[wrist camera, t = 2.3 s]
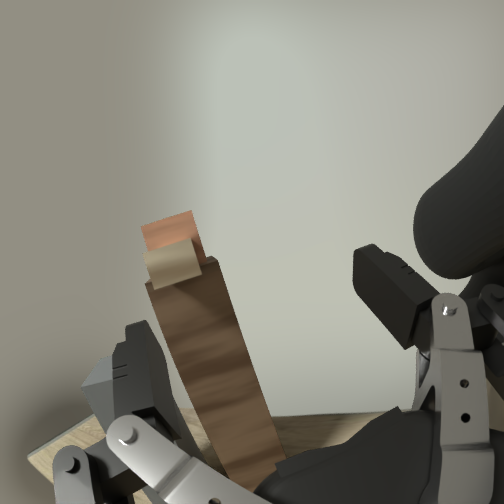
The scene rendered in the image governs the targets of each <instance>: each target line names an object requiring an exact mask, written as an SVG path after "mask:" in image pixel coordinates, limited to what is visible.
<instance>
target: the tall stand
mask: <svg viewBox="0 0 504 504" xmlns="http://www.w3.org/2000/svg"><path fill="white" fill-rule="evenodd" d="M206 259H207V262H204V263H201V264H199V267H200V270H201V273H202V275H199V276H195V277H192V278H189V279H186V280H183V281H180V282H177V283H174V284H171V285H168V286H165V287H161V288H158V289H155V290H154V287H153V284H152V281H151V279H150V280H149V281H147V282H146V283H145V286H146V289H147V291H148V294H149V297H150V300H151V303H152V306H153V308H154V311H155V314H156V317H157V319H158V322H159V325H160V327H161V330H162V333H163V335H164V338H165V340H166V343H167V346H168V348H169V351H170V353H171V356H172V358H173V360H174V363H175V365H176V368H177V370H178V372H179V375H180V377H181V380H182V382H183V384H184V386H185V389H186V391H187V393H188V395H189V398H190V400H191V402H192V404H193V407H194V409H195V411H196V413H197V415H198V417H199V419H200V422H201V424H202V426H203V428H204V430H205V432H206V434H207V436H208V438H209V440H210V442H211V444H212V446H213V448H214V450H215V452H216V454H217V456H218V458H219V460H220V462H221V464H222V466H223V467H224V469H225V471H226V473H227V475H228V477H229V479H230V480H231V481H233V482H235V483H236V484H238V485H240V486H241V487H243V488H245V489H246V490H248V491H250V492H252V493H253V491H254V490H255V489H256V487H257V486H258V485H259V484H260V483H261V482H262V481H263V480H264V479H265V478H266V477H267V476H269V475H270V474H271V473H273V472H274V471H276V470H277V469H276V467H275V464H274V463H277V462H279V461H282V460H285V459H287V458H286V456H285V453H284V451H283V448H282V445H281V443H280V440H279V437H278V434H277V432H276V429H275V426H274V424H273V421H272V418H271V415H270V413H269V410H268V407H267V404H266V402H265V399H264V396H263V393H262V391H261V388H260V385H259V382H258V379H257V376H256V373H255V371H254V368H253V365H252V362H251V359H250V356H249V353H248V350H247V347H246V345H245V342H244V339H243V336H242V333H241V330H240V327H239V324H238V321H237V318H236V315H235V312H234V309H233V306H232V303H231V300H230V297H229V294H228V290H227V287H226V284H225V281H224V278H223V275H222V272H221V269H220V266H219V262H218V260H217V259H215V258H214V257H213V256H209V257H206Z"/></svg>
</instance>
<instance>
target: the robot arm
mask: <svg viewBox="0 0 504 504" xmlns="http://www.w3.org/2000/svg"><path fill="white" fill-rule="evenodd" d="M413 233H414V241H415V245H416V248H417V251H418V253H419V255H420V257H421V259H422V260H423V262H424V263H425V265H426V266H427V267H428V268H429V269H430V270H431V271H433V272H434V273H435V274H437V275H439V276H441V277H443V278H447V279H461V278H466V277H469V276H471V275H472V277H471V279H470V281H469V283H468V284H467V286H466V287H465V288H464V290H463V291H462V292H461V293H460V294H459V295H458V296H457V295H455V294H451V293H442V294H440V293H439V292H438V291H437V290H436V289H435V288H434V287H433V286H431V285H430V284H429V283H428V282H427V281H426V280H425V279H424V278H423V277H422V276H420V275H419V274H418V273H417V272H415V270H413V269H412V268H411V267H410V266H408V264H407V263H406V262H404V261H403V260H402V259H401V258H400V257H398V256H396V255H394V254H391V253H389V252H385V253H384V252H383V251H382V250H381V249H379V248H378V247H377V246H376V245H375V244H369V245H367V246H364V247H361V248H358V249H356V250H355V251H354V255H353V286H354V289H355V291H356V293H357V295H358V296H359V297H360V298H361V299H362V300H363V302H364V303H365V304H366V305H367V306H368V307H369V308H370V310H371V311H372V312H373V313H374V314H375V315H376V317H377V318H378V319H379V320H380V321H381V322H382V324H383V325H384V326H385V327H386V328H387V329H388V331H389V332H390V333H391V334H392V335H393V336H394V338H395V339H396V340H397V341H398V342H399V344H400V345H401V346H402V347H403V348H404V350H406V349H408V348H410V347H411V346H413V345H415V346H416V347H417V348H418V349H417V353H416V388H415V398H414V402H413V405H412V410H411V411H406V412H401V410H400V409H399V407H398V406H397V407H395V408H393V409H392V410H390V411H388V412H386V413H384V414H383V415H381V416H379V417H377V418H375V419H373V420H371V421H370V422H369V423H368V424H367V425H365V426H364V427H363V428H362V429H361V430H360V431H358V432H357V433H356V434H355V435H354V436H352V437H351V438H350V439H349V440H348V441H346V442H345V443H343V444H339V445H335V446H330V447H325V448H319V449H314V450H308V451H305V452H303V453H300V454H298V455H295V456H293V457H290V458H287V459H285V460H282V461H279V462H277V463H274V464H275V467H276V469H277V470H276V471H274V472H273V473H271V474H270V475H269V476H267V477H266V478H265V479H264V480H263V481H262V482H261V483H260V484H259V485H258V486H257V487H256V489H255V490H254V491H253V493H252V492H250V491H248V490H246V489H245V488H243V487H241V486H240V485H238V484H236V483H235V482H233V481H231V480H230V479H228V478H226V477H225V476H223V475H221V474H220V473H218V472H217V471H215V470H214V469H212V468H211V467H209V466H208V465H206V464H205V463H203V462H202V461H200V460H198V459H197V458H195V457H194V456H190V455H188V454H187V453H185V452H184V451H183V450H181V449H180V448H178V447H177V446H176V445H174V442H173V441H174V440H178V439H182V437H181V432H180V428H179V424H178V419H177V414H176V410H175V405H174V400H173V395H172V390H171V386H170V380H169V374H168V369H167V363H166V360H165V356H164V353H163V350H162V348H161V346H160V344H159V343H158V341H157V339H156V337H155V335H154V333H153V332H152V330H151V328H150V326H149V324H148V322H147V321H146V320H143V321H140V322H137V323H133V324H130V325H127V326H126V329H125V334H126V341H124V342H121V343H117V345H116V348H115V350H114V352H113V355H112V369H113V371H112V378H113V401H114V421H113V422H112V424H111V425H110V426H109V428H108V430H107V434H106V437H105V438H104V439H102V440H101V441H99V442H97V443H95V444H94V445H92V446H90V447H88V448H86V449H84V450H82V449H81V448H80V447H78V446H74V445H70V446H65V447H63V448H62V449H60V450H59V451H58V452H57V454H56V455H55V457H54V460H53V479H54V489H55V499H56V504H135V501H134V497H133V493H135V492H136V491H138V490H140V489H142V488H144V487H146V486H147V485H149V486H150V487H152V488H153V489H154V490H155V491H156V492H157V494H158V495H159V496H160V497H161V498H162V499H163V500H164V501H166V502H167V503H168V504H504V106H503V107H502V109H501V110H500V111H499V113H498V114H497V115H496V117H495V118H494V120H493V121H492V122H491V124H490V125H489V126H488V128H487V129H486V131H485V132H484V133H483V135H482V136H481V138H480V139H479V140H478V142H477V143H476V144H475V146H474V147H473V148H472V149H471V150H470V152H469V153H468V154H467V155H466V156H465V157H464V158H463V159H462V160H461V161H460V162H459V163H458V164H457V165H456V166H455V167H454V168H452V169H451V170H450V171H449V172H448V173H447V174H446V175H444V176H443V177H442V178H441V179H440V180H439V181H437V182H436V183H435V184H434V185H433V186H431V188H429V189H428V190H427V191H426V192H425V193H424V194H423V195H422V197H421V198H420V200H419V202H418V205H417V208H416V211H415V215H414V224H413Z"/></svg>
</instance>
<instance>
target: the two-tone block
mask: <svg viewBox="0 0 504 504" xmlns="http://www.w3.org/2000/svg"><path fill="white" fill-rule="evenodd" d="M141 229H142V232H143V236H144V239H145V242H146V246H147V249H148V252H146V253H143V257H144V260H145V263H146V266H147V269H148V272H149V275H150V278H151V281H152V284H153V287H154V290H155V289H158V288H161V287H165V286H168V285H171V284H174V283H177V282H180V281H183V280H186V279H189V278H192V277H195V276H199V275H202V273H201V270H200V267H199V264H201V263H204V262H207V259H206V256H205V253H204V250H203V247H202V244H201V240H200V237H199V234H198V231H197V227H196V224H195V221H194V217H193V214H192V211H191V210H190V211H187V212H184V213H181V214H178V215H174V216H171V217H168V218H165V219H162V220H159V221H156V222H153V223H150V224H147V225H144V226H141Z"/></svg>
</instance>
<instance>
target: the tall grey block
mask: <svg viewBox="0 0 504 504" xmlns="http://www.w3.org/2000/svg"><path fill="white" fill-rule="evenodd" d="M112 371H113V369H112V356H109V357H105V358H101V359H100V360H99V362H98V363H97V365H96V366H95V367H94V369H93V370H92V372H91V373H90V375H89V376H88V378H87V379H86V380H85V382H84V383H83V385H82V386H81V389H82V391H83V393H84V395H85V397H86V399H87V401H88V403H89V404H90V406H91V408H92V410H93V412H94V414H95V416H96V418H97V419H98V421H99V423H100V425H101V426H102V428H103V430H104V432H105V433H106V434H107V430H108V428H109V426H110V425H111V424H112V422H113V421H114V401H113V378H112ZM173 400H174V398H173ZM174 405H175V410H176V414H177V419H178V424H179V428H180V432H181V437H182V439H178V440H174V441H173V442H174V445H176V446H177V447H178V448H180V449H181V450H183V451H184V452H185V453H187V454H188V455H190V456H194V457H195V458H197V459H198V460H200V461H202V462H203V463H205V464H206V465H207V463H206V461H205V459H204V457H203V455H202V454H201V452H200V450H199V448H198V446H197V444H196V442H195V440H194V438H193V436H192V434H191V432H190V430H189V429H188V427H187V425H186V422H185V420H184V418H183V416H182V414H181V412H180V410H179V408H178V406H177V404H176V402H175V400H174ZM142 490H143V491H144V493H145V494H146V495H147V497H148V498H149V499H150V501H151V502H152V503H153V504H168V503H167V502H166V501H164V500H163V499H162V498H161V497H160V496H159V495H158V494H157V492H156V491H155V490H154V489H153V488H152V487H150V486H149V485H147V486H146V487H144V488H142Z"/></svg>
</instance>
